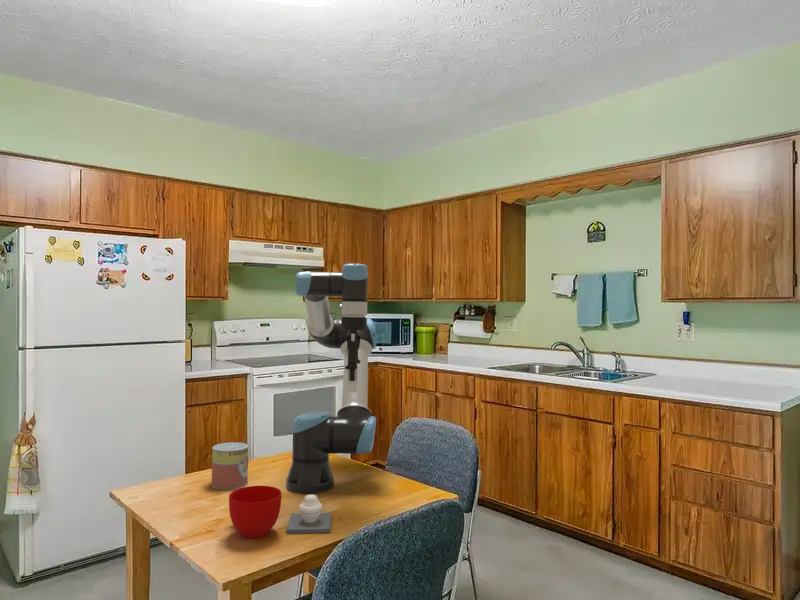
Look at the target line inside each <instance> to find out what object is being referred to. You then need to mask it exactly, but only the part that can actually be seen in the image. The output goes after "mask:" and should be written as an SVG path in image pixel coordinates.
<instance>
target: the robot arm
mask: <svg viewBox="0 0 800 600" xmlns="http://www.w3.org/2000/svg"><path fill="white" fill-rule="evenodd" d="M368 271H369V270H368V266H367V264H364V263H345V264H343V265H342V270H341V272H338V271H337V272H334V271H333V272H331V271H329V272H328V271H310V270H309V271H299V272H297V273H296V274H295V283H294V286H295V287H294V290H295V294H296V295H297V296H300V297H304V300H305V306H306V311H307V315H308V320H307V323H306V326H307V331H308V334H309V336H310V337H311V338H312V339H313V340H314V341H315V342H317V343H318V344H320V345H321V346H323V347H326V348H328V349H340V352H341V354H342V355H343V356H344V357H343V359H344V360H343V380H342V399H341V401H342V402H341V408H339V409H338V411H337V412H336V413H337V414H336V416H331V414H330V412H329V411H326V410H317V411H311V412H310V411H309V412H305V413H302V414H301V413H300V414H298V415H297V416H296V417H295V418H294V419H293V425H292V431H291V432H292V459H291V465H290V467H289V470H288V473H287V476H286V480H285V481H286V482H285V483H286V485H285V487H286V490H288V491H289V492H290V491H291V492H294V493H297V494H298V493H300V494H316V493H323V492H326V491H329V490H330V489H332V488H333V487H334V485H335V482H334V481H335V480H334V479H335V478H334V474H333V471H332V467H331V464H330V460H329V459H330V458H329V457H330V454H343V455H344V454H352V455H353V454H355V455H356V454H357V455H359V454H368V453H371V452H372V450H373V447H374V442H375V435H376V426H377V425H376V424H377V417H376V416H373V412H372V411H371V409H369V408H368V399H369V398H368V397H369V396H368V393H369V392H368V387H369V386H368V384H369V383H368V380H369V374H368V373H369V371H368V370H369V356H370V355H371V354H372V351H373V350H374V349H376V347H377V337H376V336H377V335H376V327H375V322H374V320H373V319H371V318H368V317H366V316H367V315H368V283H369V282H368V279H369V278H368V277H369V272H368ZM329 297H341V304H339V309H341V315H342V317H333V316H331V311H330V303H329Z"/></svg>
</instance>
